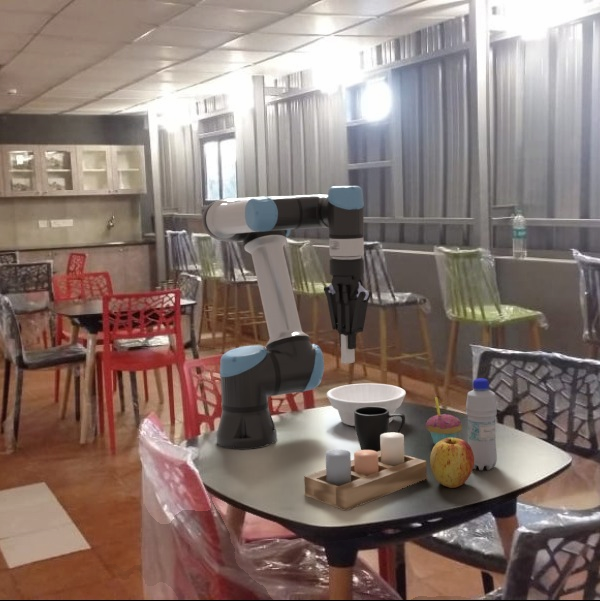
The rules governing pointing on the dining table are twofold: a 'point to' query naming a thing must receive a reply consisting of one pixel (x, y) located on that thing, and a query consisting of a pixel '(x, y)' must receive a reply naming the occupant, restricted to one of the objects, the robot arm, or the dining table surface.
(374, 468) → the peach cylinder
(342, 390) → the bowl
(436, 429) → the cupcake
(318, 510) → the dining table surface
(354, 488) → the wooden peg tray
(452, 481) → the apple
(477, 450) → the bottle
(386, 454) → the white cylinder
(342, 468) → the blue-grey cylinder
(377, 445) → the mug
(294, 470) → the dining table surface
